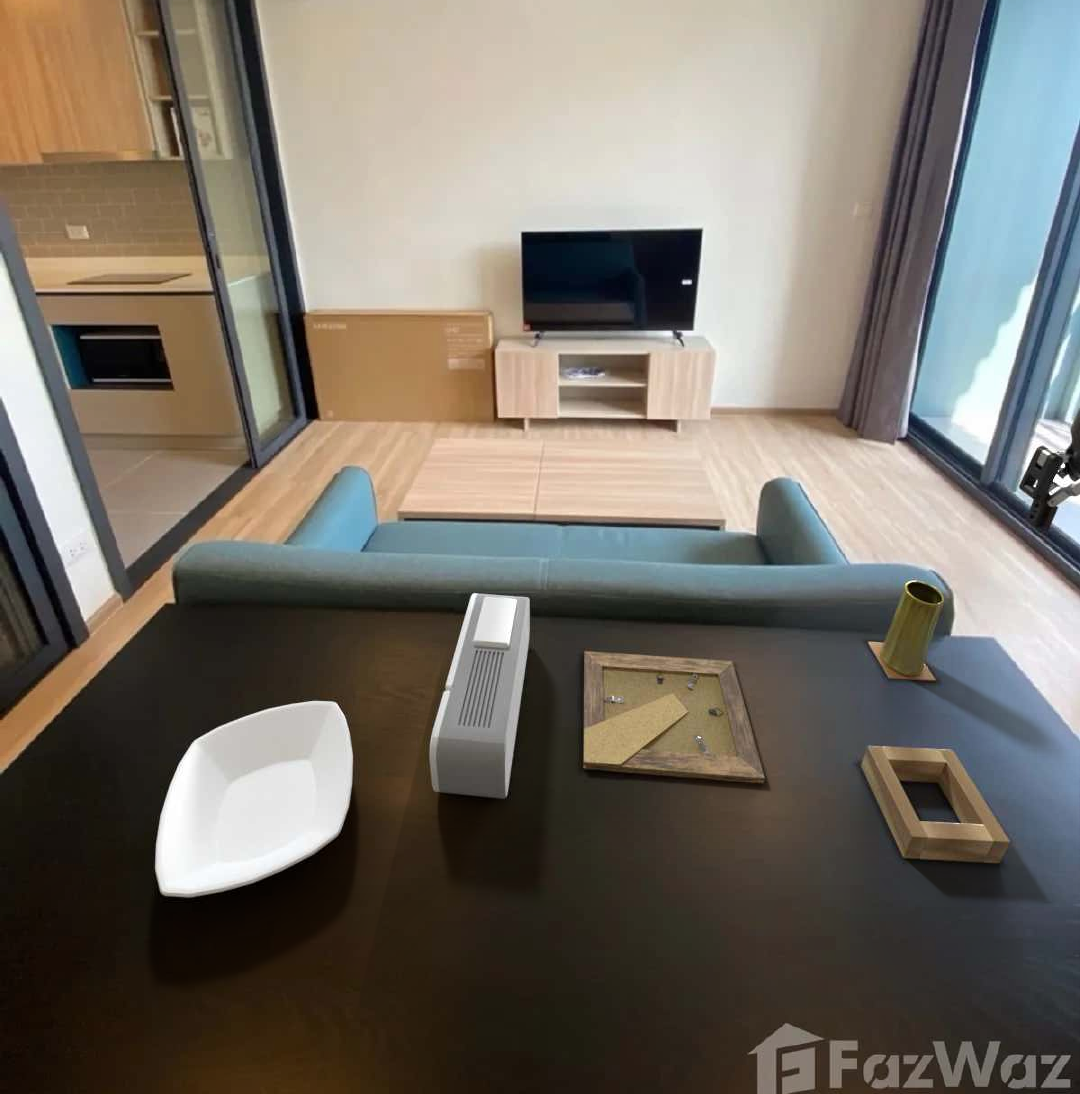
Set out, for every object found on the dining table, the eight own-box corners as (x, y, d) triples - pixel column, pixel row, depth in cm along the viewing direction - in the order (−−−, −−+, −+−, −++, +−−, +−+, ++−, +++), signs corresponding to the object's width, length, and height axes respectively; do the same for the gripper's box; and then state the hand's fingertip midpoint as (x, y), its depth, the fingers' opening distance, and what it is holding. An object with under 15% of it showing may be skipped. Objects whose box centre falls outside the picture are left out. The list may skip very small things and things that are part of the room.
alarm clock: (475, 637, 99) (472, 582, 94) (529, 642, 98) (529, 587, 93) (433, 805, 74) (427, 742, 69) (505, 813, 73) (504, 750, 68)
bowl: (188, 757, 79) (179, 731, 77) (353, 711, 86) (349, 685, 84) (147, 949, 60) (134, 921, 58) (362, 871, 67) (357, 843, 65)
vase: (909, 645, 97) (932, 578, 91) (931, 676, 91) (957, 607, 86) (872, 645, 97) (893, 577, 91) (892, 676, 91) (915, 606, 86)
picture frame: (583, 770, 78) (763, 785, 76) (583, 761, 77) (765, 776, 76) (584, 657, 95) (731, 667, 93) (584, 649, 94) (732, 659, 93)
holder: (943, 771, 78) (952, 749, 76) (998, 865, 68) (1010, 841, 66) (859, 767, 79) (867, 745, 77) (902, 859, 68) (912, 836, 67)
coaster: (910, 646, 98) (911, 643, 97) (935, 682, 91) (936, 679, 91) (866, 644, 98) (867, 641, 98) (888, 680, 91) (889, 677, 91)
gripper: (1090, 419, 59) (1035, 547, 66) (1236, 422, 59) (1166, 552, 65) (1035, 390, 66) (991, 508, 72) (1165, 393, 65) (1109, 512, 72)
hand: (1074, 529), depth 69 cm, fingers open, 8 cm apart
